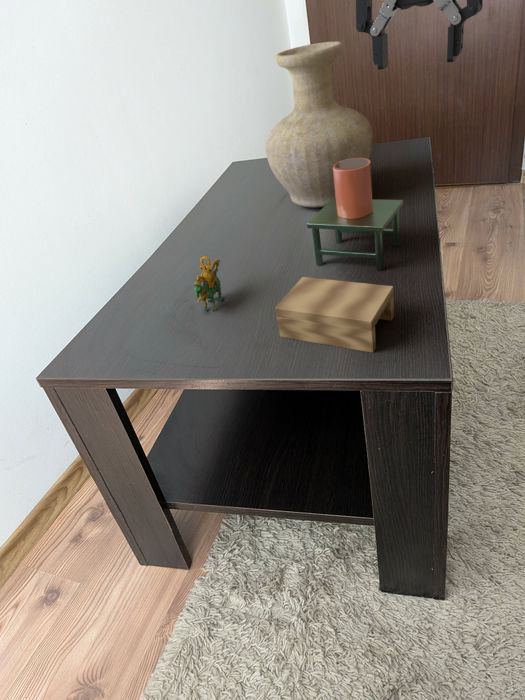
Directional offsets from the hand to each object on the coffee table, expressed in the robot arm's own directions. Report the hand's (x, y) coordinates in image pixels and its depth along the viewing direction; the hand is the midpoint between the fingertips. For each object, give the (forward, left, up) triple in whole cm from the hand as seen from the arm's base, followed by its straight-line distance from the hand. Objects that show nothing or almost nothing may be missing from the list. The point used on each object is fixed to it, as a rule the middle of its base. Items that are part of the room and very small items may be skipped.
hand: (416, 64), depth 63 cm
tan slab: (+7, +16, -30) cm, 35 cm away
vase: (+29, -30, -30) cm, 52 cm away
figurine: (+30, +14, -30) cm, 45 cm away
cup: (+12, -6, -22) cm, 26 cm away
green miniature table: (+12, -6, -30) cm, 33 cm away
